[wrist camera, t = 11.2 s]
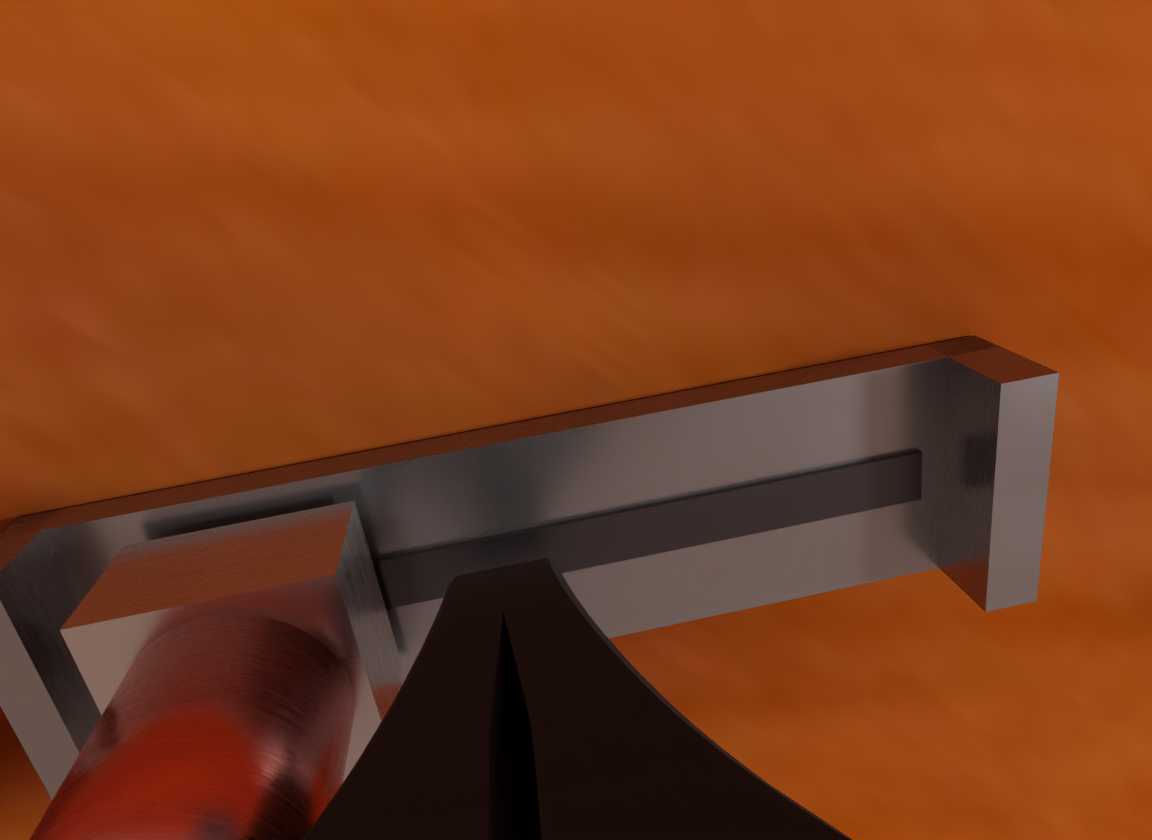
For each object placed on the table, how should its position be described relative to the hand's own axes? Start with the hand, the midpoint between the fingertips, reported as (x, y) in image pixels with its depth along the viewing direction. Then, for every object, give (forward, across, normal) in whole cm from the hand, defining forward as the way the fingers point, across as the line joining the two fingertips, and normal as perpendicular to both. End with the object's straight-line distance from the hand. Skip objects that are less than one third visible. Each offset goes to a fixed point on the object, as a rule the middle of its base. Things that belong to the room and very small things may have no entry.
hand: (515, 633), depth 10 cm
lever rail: (+2, 0, 0) cm, 2 cm away
